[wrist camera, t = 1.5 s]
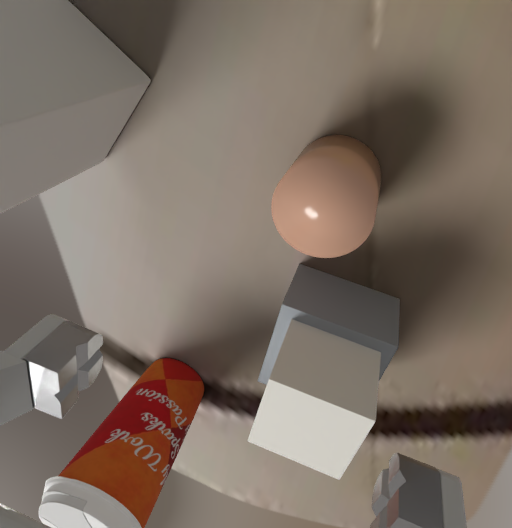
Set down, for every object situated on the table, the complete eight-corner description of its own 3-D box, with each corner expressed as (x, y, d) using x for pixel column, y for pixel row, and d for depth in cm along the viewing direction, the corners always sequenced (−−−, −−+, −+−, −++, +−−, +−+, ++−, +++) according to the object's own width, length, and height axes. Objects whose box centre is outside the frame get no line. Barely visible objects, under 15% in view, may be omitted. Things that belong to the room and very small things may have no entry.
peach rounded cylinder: (306, 123, 24) (285, 147, 20) (395, 150, 23) (392, 180, 19) (284, 204, 27) (262, 239, 23) (363, 230, 26) (354, 271, 22)
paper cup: (231, 401, 38) (155, 569, 27) (172, 416, 42) (85, 568, 31) (180, 337, 36) (74, 490, 25) (123, 359, 40) (9, 500, 29)
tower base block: (300, 262, 29) (282, 304, 25) (400, 297, 28) (398, 346, 24) (276, 334, 33) (257, 381, 29) (363, 367, 32) (356, 420, 28)
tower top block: (291, 318, 25) (268, 379, 21) (381, 352, 25) (375, 421, 20) (270, 378, 28) (247, 441, 24) (349, 410, 28) (339, 479, 24)
